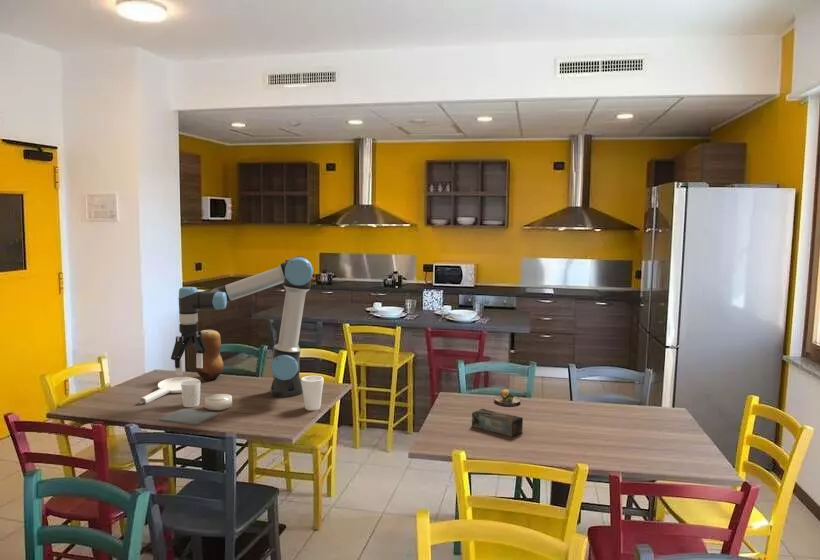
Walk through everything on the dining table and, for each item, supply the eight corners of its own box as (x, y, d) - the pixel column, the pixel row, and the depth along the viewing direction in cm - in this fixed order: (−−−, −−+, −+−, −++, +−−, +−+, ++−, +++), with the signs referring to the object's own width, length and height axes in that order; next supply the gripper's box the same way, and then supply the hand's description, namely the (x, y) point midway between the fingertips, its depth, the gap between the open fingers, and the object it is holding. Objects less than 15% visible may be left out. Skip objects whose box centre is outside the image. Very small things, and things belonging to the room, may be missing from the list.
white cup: (194, 408, 254) (193, 385, 253) (178, 407, 256) (177, 384, 255) (204, 402, 262) (203, 380, 261) (188, 401, 263) (187, 379, 263)
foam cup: (328, 408, 255) (327, 378, 254) (310, 413, 248) (310, 382, 247) (314, 403, 261) (314, 374, 260) (297, 408, 255) (296, 378, 253)
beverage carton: (482, 421, 238) (482, 406, 238) (523, 432, 226) (524, 416, 225) (471, 426, 232) (471, 410, 232) (513, 438, 220) (513, 421, 219)
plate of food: (520, 407, 257) (520, 390, 256) (493, 406, 259) (493, 389, 258) (521, 399, 268) (521, 383, 268) (494, 398, 271) (495, 382, 270)
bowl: (237, 405, 258) (237, 394, 258) (222, 413, 248) (221, 401, 247) (215, 403, 261) (215, 392, 261) (199, 410, 251) (199, 399, 251)
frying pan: (161, 410, 258) (161, 400, 257) (124, 404, 263) (124, 394, 262) (208, 385, 291) (208, 376, 290) (175, 380, 296) (175, 371, 295)
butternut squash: (228, 375, 309) (227, 328, 306) (217, 382, 295) (215, 332, 293) (202, 374, 310) (201, 327, 308) (190, 381, 297) (189, 332, 295)
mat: (218, 414, 246) (218, 412, 246) (197, 425, 233) (197, 423, 233) (182, 410, 252) (182, 408, 252) (159, 420, 239) (159, 418, 239)
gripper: (199, 318, 268) (200, 364, 270) (160, 327, 245) (162, 377, 247) (213, 319, 266) (214, 365, 268) (176, 328, 242) (177, 379, 244)
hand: (189, 371), depth 257 cm, fingers open, 13 cm apart
